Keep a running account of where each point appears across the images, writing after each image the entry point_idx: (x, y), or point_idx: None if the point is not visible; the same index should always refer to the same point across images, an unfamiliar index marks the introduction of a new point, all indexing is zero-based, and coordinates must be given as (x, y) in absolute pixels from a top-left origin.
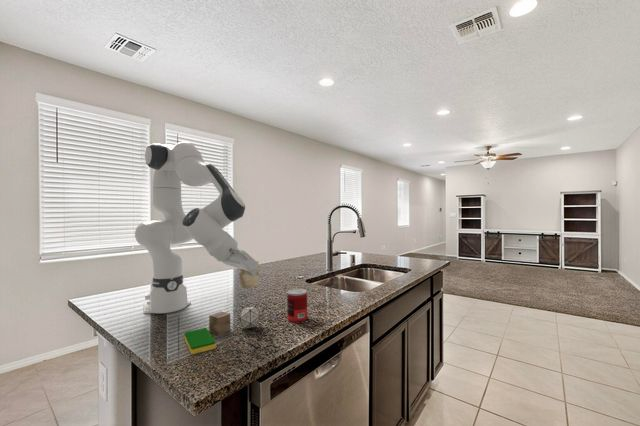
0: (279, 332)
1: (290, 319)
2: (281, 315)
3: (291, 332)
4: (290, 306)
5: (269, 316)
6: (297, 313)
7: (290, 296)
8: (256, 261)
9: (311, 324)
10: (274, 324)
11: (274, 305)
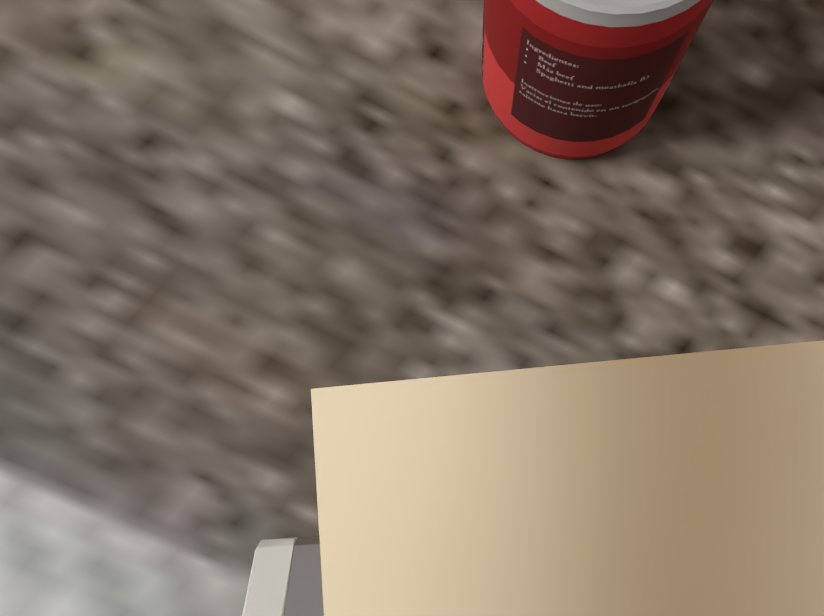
0: (750, 345)
1: (602, 151)
2: (396, 144)
3: (809, 265)
4: (630, 92)
5: (346, 241)
6: (670, 80)
7: (657, 29)
8: (808, 392)
9: (751, 51)
10: (556, 295)
11: (111, 71)
